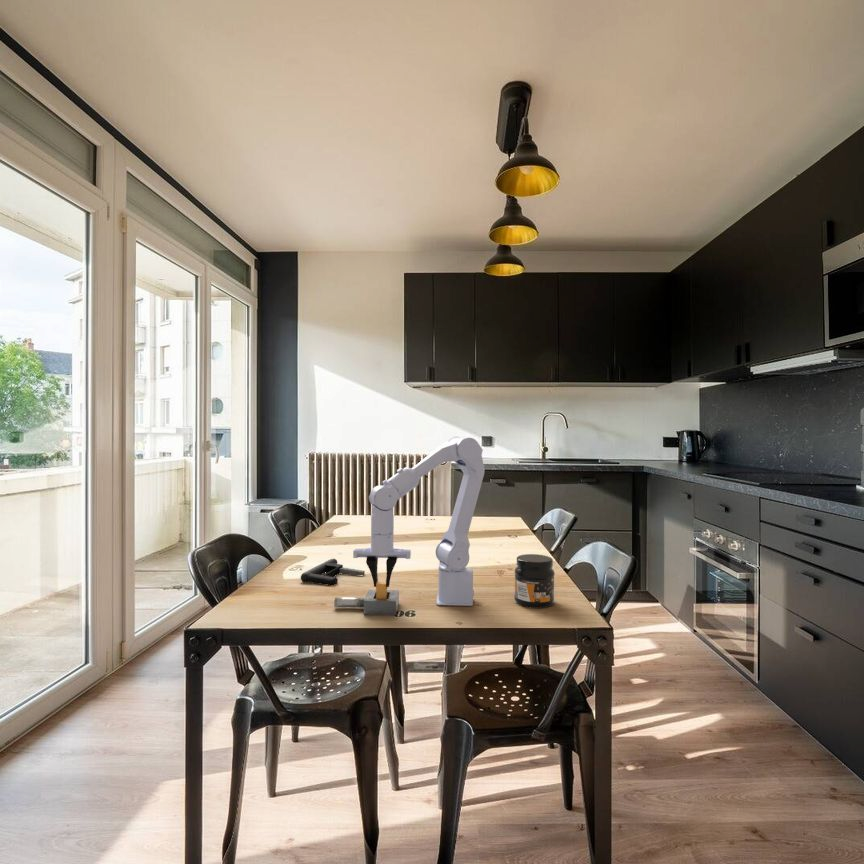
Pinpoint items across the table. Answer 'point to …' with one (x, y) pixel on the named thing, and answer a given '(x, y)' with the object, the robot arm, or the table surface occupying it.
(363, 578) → the table surface
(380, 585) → the tall orange cuboid
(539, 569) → the supplement container
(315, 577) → the door handle
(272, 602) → the table surface
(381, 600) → the grey peg hole fixture
